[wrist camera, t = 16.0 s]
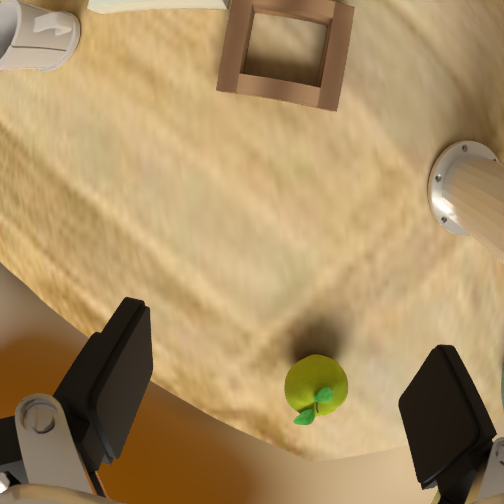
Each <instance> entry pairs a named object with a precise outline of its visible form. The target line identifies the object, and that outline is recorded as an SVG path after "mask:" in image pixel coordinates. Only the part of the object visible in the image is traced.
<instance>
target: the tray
mask: <svg viewBox="0 0 504 504" xmlns="http://www.w3.org/2000/svg"><path fill="white" fill-rule="evenodd" d="M229 1H230V0H89V3H88V8H87V9H90V10H92V11H95V12H97V13H100V14H108V13H116V12H125V11H137V10H152V9H216V10H228V6H229Z"/></svg>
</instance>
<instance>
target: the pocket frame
mask: <svg viewBox="0 0 504 504" xmlns="http://www.w3.org/2000/svg"><path fill="white" fill-rule="evenodd" d="M354 8H355V7H354V6H350V5H346V4H343V3H339V2H335V1H331V0H233V1H232V6H231V11H230V16H229V21H228V26H227V31H226V36H225V42H224V47H223V53H222V58H221V64H220V70H219V76H218V82H217V88H216V90H217V91H221V92H228V93H236V94H243V95H250V96H257V97H263V98H269V99H275V100H281V101H286V102H291V103H297V104H302V105H306V106H311V107H316V108H320V109H324V110H329V111H337V107H338V102H339V97H340V92H341V87H342V81H343V76H344V70H345V64H346V59H347V53H348V47H349V41H350V34H351V28H352V22H353V15H354ZM255 13H261V14H268V15H275V16H282V17H288V18H294V19H299V20H304V21H309V22H314V23H318V24H323V25H327V32H326V38H325V44H324V50H323V55H322V61H321V67H320V72H319V78H318V83H317V87H314V86H309V85H305V84H300V83H295V82H290V81H284V80H279V79H273V78H267V77H260V76H253V75H246V74H244V68H245V62H246V57H247V51H248V46H249V40H250V35H251V30H252V24H253V19H254V14H255Z"/></svg>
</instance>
